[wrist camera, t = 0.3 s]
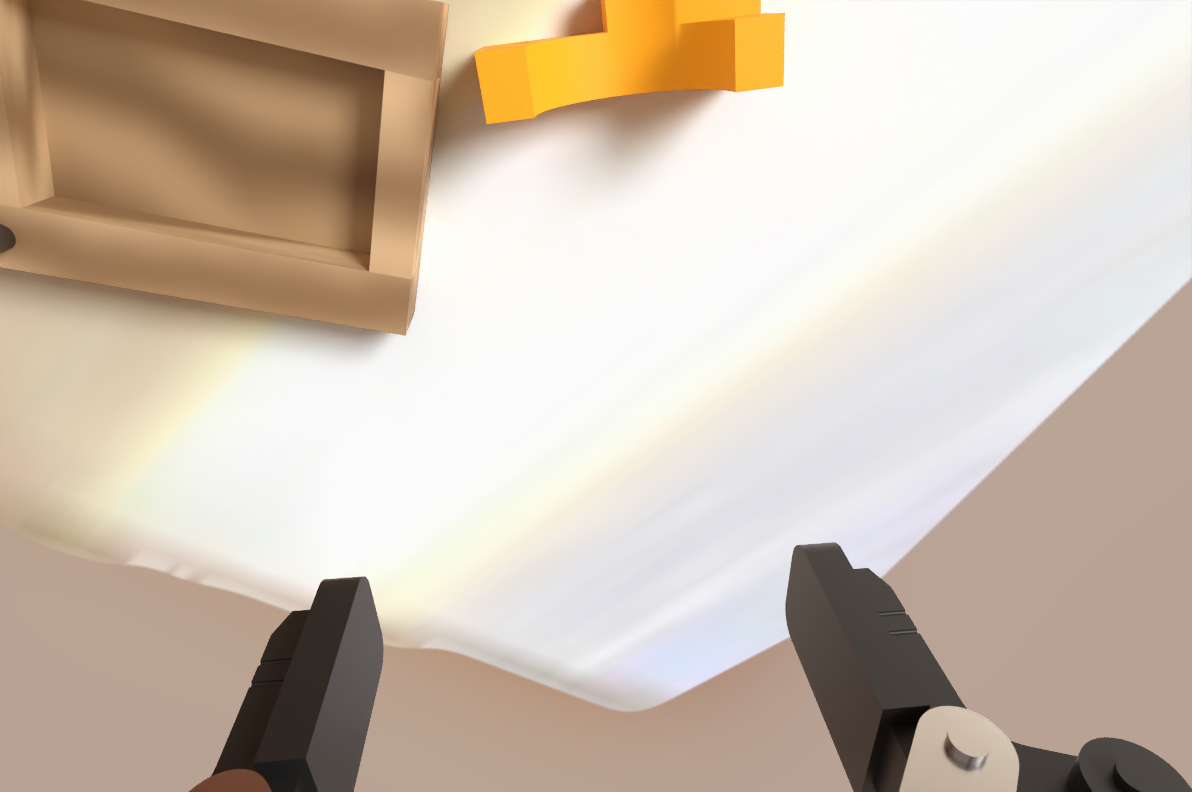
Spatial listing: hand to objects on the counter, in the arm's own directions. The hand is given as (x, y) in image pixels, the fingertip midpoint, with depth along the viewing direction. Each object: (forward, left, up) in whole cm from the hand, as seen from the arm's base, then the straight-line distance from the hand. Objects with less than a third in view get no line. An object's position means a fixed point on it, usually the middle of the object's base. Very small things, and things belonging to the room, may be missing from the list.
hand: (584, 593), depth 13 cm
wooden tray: (-1, -16, -26) cm, 31 cm away
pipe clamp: (-9, +1, -27) cm, 28 cm away
